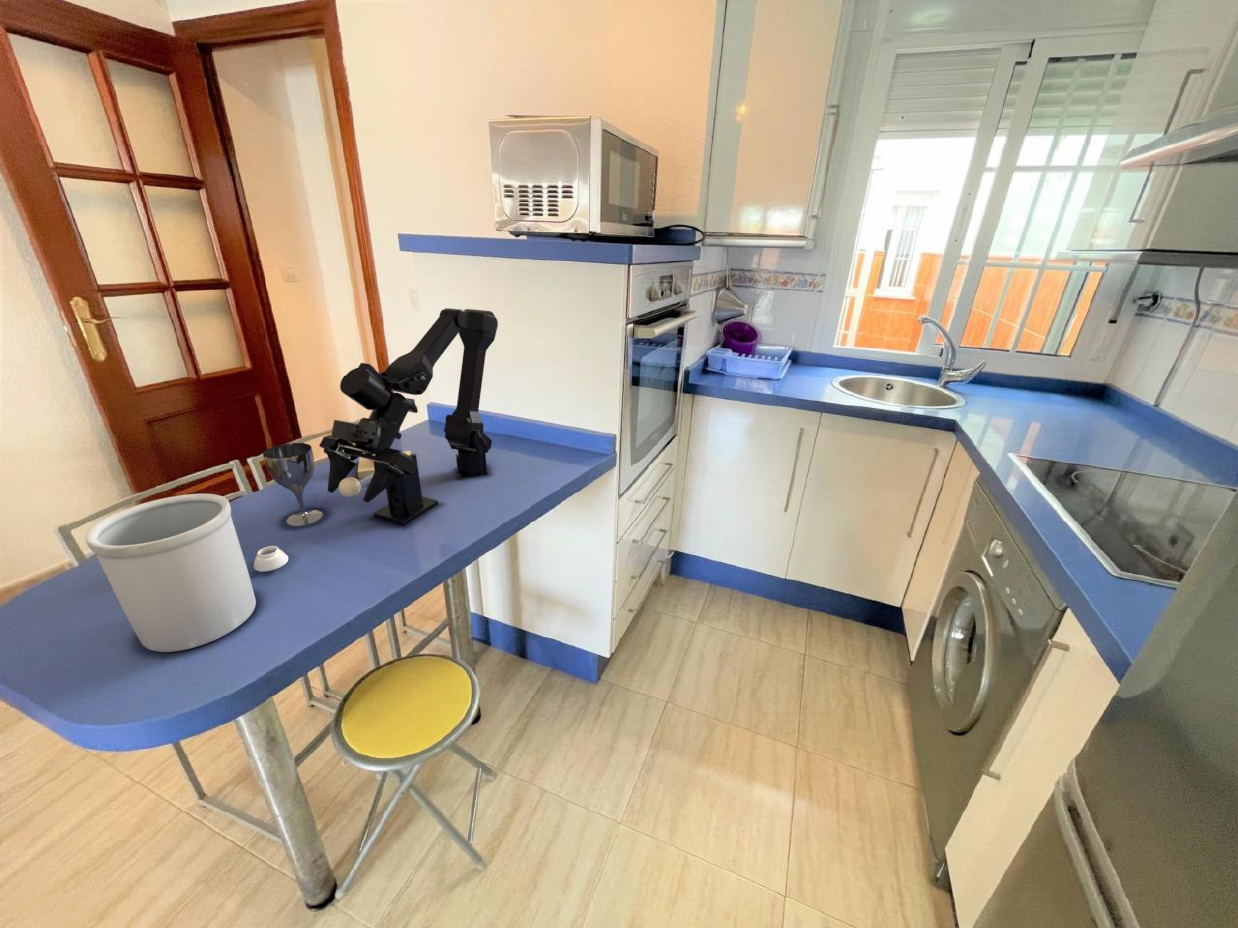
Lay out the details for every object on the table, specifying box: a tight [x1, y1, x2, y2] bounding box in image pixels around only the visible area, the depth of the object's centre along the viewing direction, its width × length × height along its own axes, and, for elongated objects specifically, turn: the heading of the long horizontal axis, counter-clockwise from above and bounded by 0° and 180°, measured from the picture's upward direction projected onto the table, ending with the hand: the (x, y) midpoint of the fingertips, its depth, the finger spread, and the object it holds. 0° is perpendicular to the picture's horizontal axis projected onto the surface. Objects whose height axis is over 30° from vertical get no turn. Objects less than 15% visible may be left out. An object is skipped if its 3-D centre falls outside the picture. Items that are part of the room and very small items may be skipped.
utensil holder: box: [84, 493, 257, 653], centre depth 71 cm, size 15×15×18 cm
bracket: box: [373, 453, 439, 527], centre depth 103 cm, size 10×8×13 cm
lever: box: [338, 472, 374, 498], centre depth 96 cm, size 15×4×4 cm, turn 157°
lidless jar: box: [253, 545, 289, 573], centre depth 87 cm, size 5×3×5 cm
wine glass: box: [262, 442, 323, 527], centre depth 99 cm, size 8×8×15 cm
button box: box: [357, 450, 412, 479], centre depth 125 cm, size 12×10×4 cm
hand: (347, 496), depth 91 cm, fingers open, 8 cm apart
